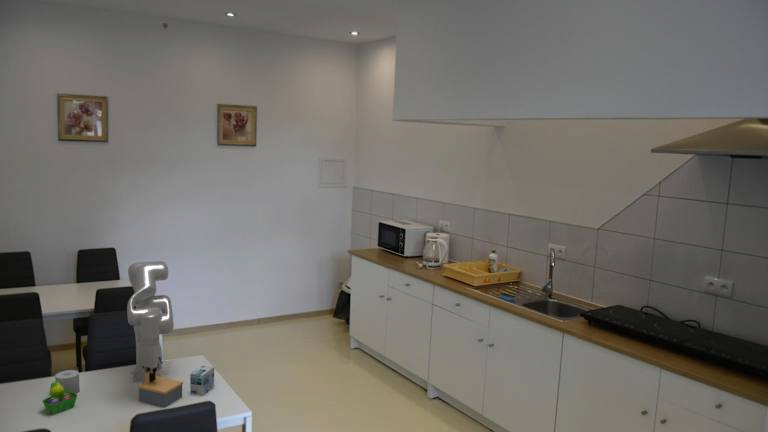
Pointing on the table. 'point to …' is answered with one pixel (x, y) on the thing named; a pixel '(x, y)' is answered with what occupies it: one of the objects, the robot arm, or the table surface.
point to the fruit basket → (59, 399)
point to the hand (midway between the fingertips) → (150, 380)
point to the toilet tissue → (68, 380)
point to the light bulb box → (202, 380)
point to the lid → (159, 384)
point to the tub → (160, 397)
